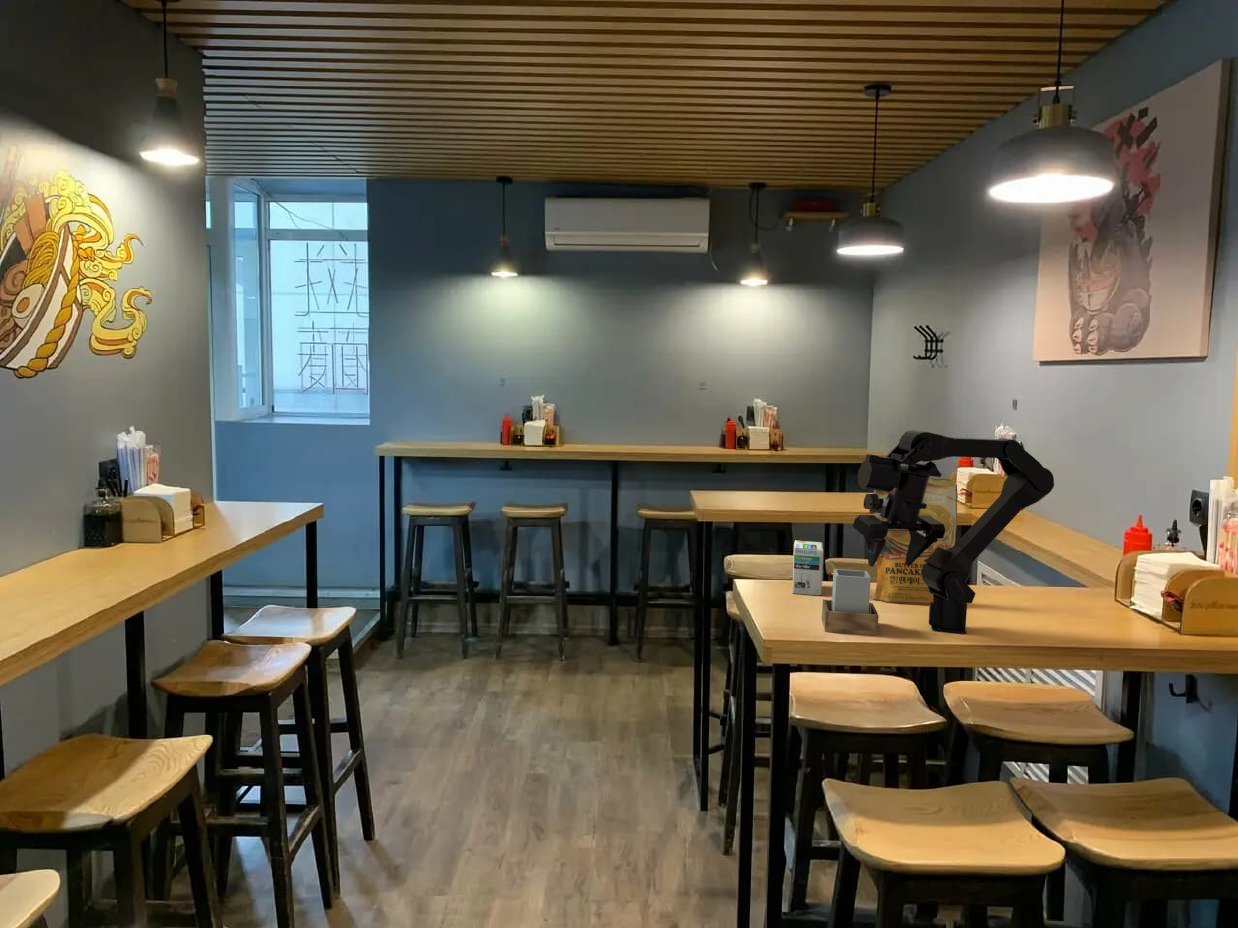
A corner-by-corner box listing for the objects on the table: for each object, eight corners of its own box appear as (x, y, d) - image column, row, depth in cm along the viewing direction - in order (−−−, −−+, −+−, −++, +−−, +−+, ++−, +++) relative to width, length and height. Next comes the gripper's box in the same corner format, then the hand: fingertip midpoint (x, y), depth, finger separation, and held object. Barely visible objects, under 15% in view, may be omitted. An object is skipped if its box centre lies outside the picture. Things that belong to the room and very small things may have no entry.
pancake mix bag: (863, 595, 206) (870, 473, 203) (949, 599, 204) (957, 477, 201) (868, 602, 199) (876, 477, 197) (957, 607, 197) (966, 480, 195)
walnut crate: (871, 621, 183) (872, 602, 182) (877, 635, 173) (878, 615, 172) (821, 618, 184) (822, 599, 184) (824, 631, 174) (825, 611, 174)
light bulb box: (821, 596, 203) (824, 549, 202) (791, 594, 205) (793, 547, 204) (820, 586, 214) (823, 541, 213) (792, 583, 215) (794, 539, 214)
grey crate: (863, 619, 181) (866, 571, 180) (867, 628, 175) (870, 577, 174) (831, 617, 182) (833, 568, 181) (833, 625, 176) (836, 575, 175)
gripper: (919, 480, 187) (900, 548, 192) (846, 477, 180) (828, 548, 184) (956, 500, 177) (935, 571, 182) (880, 498, 170) (860, 573, 175)
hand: (889, 565), depth 181 cm, fingers open, 9 cm apart
